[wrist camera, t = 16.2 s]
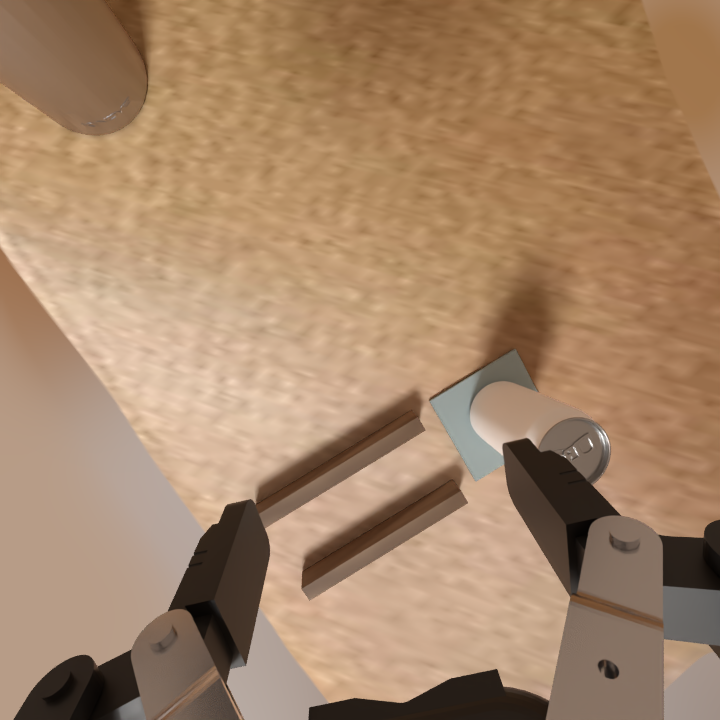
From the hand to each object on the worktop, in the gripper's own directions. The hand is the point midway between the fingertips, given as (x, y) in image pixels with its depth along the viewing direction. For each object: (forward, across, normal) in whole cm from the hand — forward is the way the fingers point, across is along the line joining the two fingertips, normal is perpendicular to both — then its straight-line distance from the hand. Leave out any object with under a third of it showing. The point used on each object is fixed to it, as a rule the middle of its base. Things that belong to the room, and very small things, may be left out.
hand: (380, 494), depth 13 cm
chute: (+23, +4, +18) cm, 29 cm away
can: (+26, -12, +13) cm, 31 cm away
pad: (+26, -11, +14) cm, 31 cm away
